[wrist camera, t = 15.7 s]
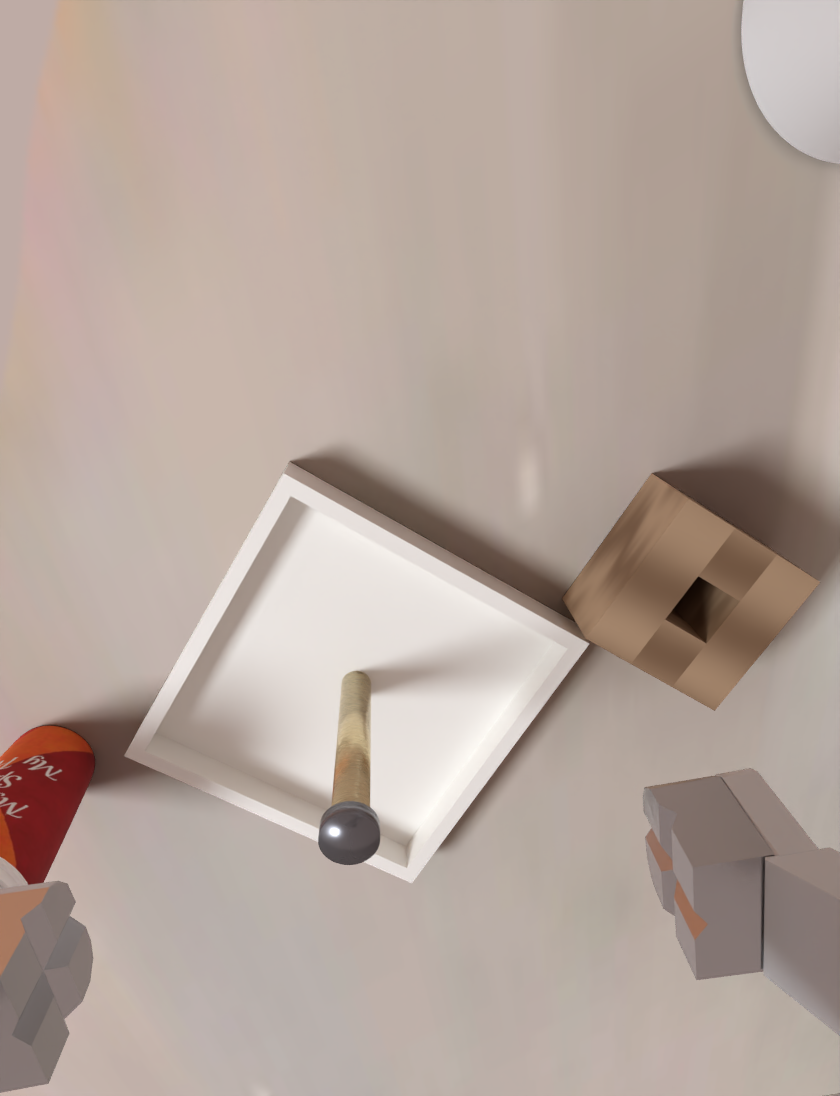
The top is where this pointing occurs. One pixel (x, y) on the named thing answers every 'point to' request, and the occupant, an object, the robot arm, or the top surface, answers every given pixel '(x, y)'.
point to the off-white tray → (354, 645)
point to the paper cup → (39, 800)
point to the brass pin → (351, 780)
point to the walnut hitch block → (685, 594)
